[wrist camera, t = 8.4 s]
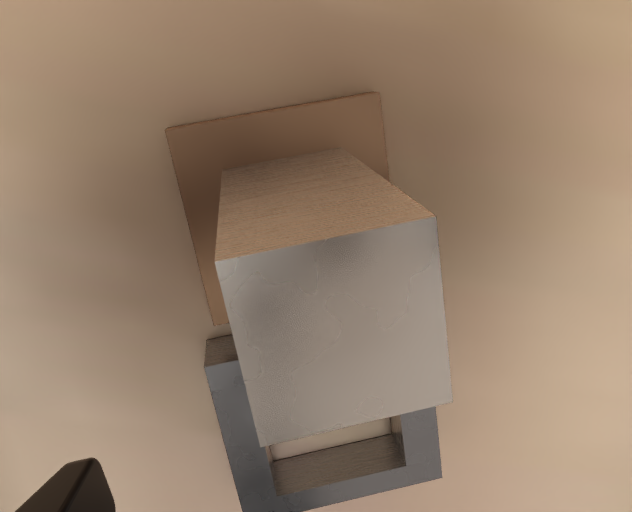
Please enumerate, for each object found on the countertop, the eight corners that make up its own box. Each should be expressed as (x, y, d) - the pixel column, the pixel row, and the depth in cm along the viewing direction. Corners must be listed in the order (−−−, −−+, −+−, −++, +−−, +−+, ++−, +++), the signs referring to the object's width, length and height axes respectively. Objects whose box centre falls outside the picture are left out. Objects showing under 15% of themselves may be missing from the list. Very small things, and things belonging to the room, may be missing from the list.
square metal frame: (425, 445, 24) (442, 477, 22) (244, 487, 23) (246, 525, 21) (409, 297, 21) (427, 319, 19) (206, 340, 21) (204, 367, 19)
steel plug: (357, 257, 20) (453, 401, 11) (247, 280, 19) (260, 447, 11) (340, 147, 18) (436, 216, 10) (222, 169, 18) (214, 262, 9)
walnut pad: (395, 278, 21) (401, 287, 20) (214, 316, 20) (214, 325, 20) (373, 91, 18) (379, 92, 18) (167, 127, 18) (165, 130, 17)
